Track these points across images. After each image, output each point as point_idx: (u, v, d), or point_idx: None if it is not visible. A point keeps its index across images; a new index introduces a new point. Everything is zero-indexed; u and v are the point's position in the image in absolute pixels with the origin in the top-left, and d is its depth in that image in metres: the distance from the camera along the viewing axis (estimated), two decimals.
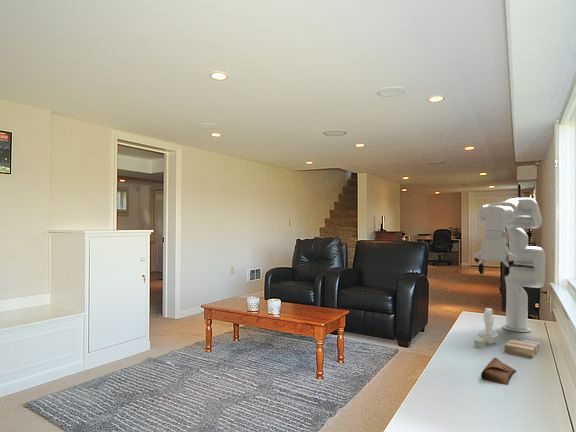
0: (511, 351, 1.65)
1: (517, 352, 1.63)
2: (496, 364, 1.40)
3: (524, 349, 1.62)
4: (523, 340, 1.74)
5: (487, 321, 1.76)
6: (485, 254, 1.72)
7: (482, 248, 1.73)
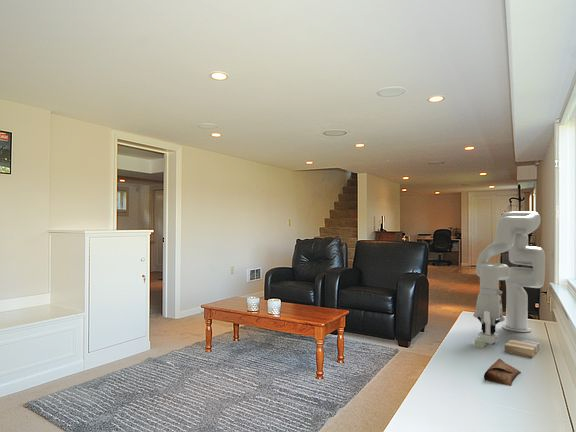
0: (511, 351, 1.65)
1: (517, 352, 1.63)
2: (500, 365, 1.39)
3: (524, 349, 1.62)
4: (523, 340, 1.74)
5: (487, 321, 1.76)
6: (480, 310, 1.80)
7: (477, 304, 1.81)
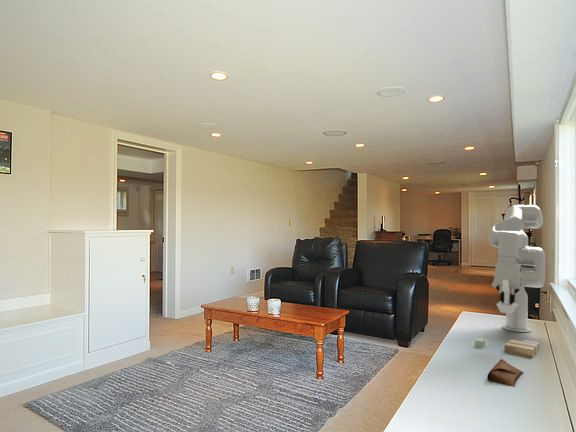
0: (511, 351, 1.65)
1: (517, 352, 1.63)
2: (503, 366, 1.39)
3: (524, 349, 1.62)
4: (523, 340, 1.74)
5: (506, 290, 1.69)
6: (499, 279, 1.73)
7: (496, 273, 1.74)
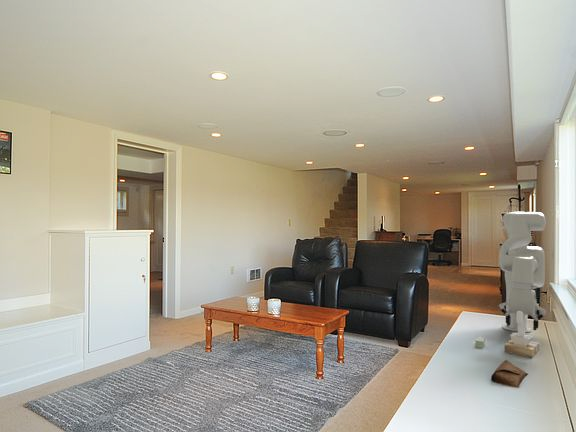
0: (511, 351, 1.65)
1: (517, 352, 1.63)
2: (507, 367, 1.38)
3: (524, 349, 1.62)
4: None
5: (520, 322, 1.64)
6: (513, 306, 1.68)
7: (509, 300, 1.69)
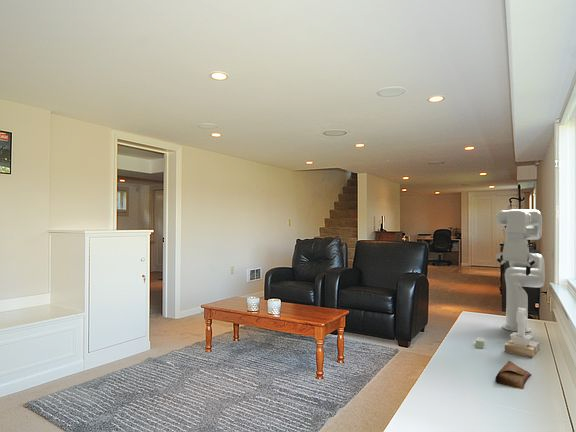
0: (511, 351, 1.65)
1: (517, 352, 1.63)
2: (511, 367, 1.37)
3: (524, 349, 1.62)
4: None
5: (520, 322, 1.64)
6: (507, 255, 1.85)
7: (504, 249, 1.86)
